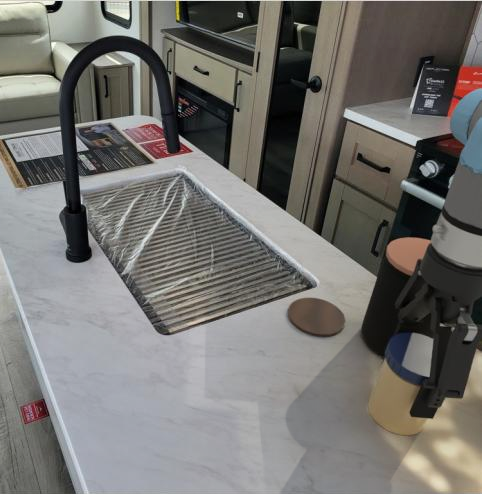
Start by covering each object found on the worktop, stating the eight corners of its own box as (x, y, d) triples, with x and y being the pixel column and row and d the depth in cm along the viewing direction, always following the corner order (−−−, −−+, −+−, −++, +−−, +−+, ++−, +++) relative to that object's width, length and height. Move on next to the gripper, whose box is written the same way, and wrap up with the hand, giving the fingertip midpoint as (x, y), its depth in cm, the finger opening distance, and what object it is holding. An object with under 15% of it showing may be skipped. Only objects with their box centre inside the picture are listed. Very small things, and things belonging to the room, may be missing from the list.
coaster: (338, 301, 91) (338, 299, 90) (350, 338, 82) (351, 336, 82) (284, 298, 92) (285, 295, 91) (291, 334, 83) (292, 332, 83)
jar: (413, 393, 73) (438, 339, 66) (432, 437, 66) (461, 382, 60) (362, 389, 73) (381, 335, 67) (376, 433, 67) (399, 377, 61)
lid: (406, 390, 60) (410, 381, 59) (372, 344, 67) (376, 335, 66) (465, 383, 61) (470, 374, 60) (426, 338, 68) (430, 329, 67)
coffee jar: (420, 326, 85) (455, 242, 75) (432, 370, 76) (473, 282, 66) (357, 316, 87) (382, 233, 77) (362, 357, 79) (391, 270, 69)
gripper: (399, 204, 63) (360, 327, 76) (473, 315, 45) (405, 454, 58) (459, 207, 63) (409, 331, 75) (558, 321, 44) (471, 460, 57)
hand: (407, 384), depth 66 cm, fingers open, 10 cm apart
